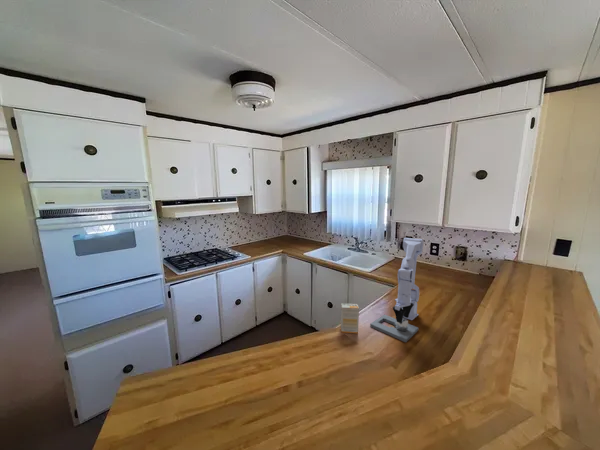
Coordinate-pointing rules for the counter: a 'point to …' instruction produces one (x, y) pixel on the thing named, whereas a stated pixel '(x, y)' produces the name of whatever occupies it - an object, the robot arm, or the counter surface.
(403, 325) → the headed peg
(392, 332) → the keyhole plate
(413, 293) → the robot arm
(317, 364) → the counter surface
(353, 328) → the supplement box
